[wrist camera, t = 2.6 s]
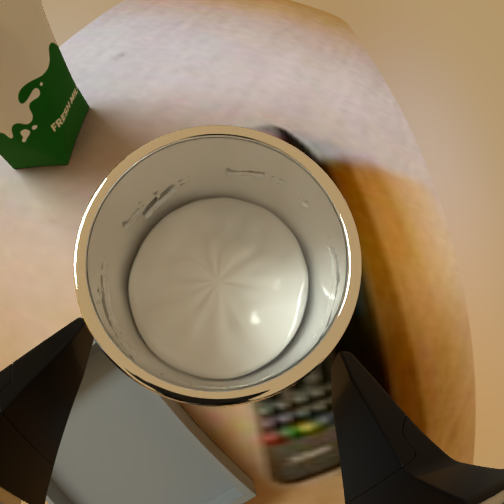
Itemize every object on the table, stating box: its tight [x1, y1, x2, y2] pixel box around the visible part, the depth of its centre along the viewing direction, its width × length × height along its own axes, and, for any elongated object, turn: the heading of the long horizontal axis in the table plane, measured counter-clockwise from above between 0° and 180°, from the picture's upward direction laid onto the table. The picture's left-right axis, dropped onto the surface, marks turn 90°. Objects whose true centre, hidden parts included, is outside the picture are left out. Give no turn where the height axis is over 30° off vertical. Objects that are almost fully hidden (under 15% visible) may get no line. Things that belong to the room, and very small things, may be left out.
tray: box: [46, 340, 257, 504], centre depth 16 cm, size 15×15×2 cm
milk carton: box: [0, 0, 89, 169], centre depth 14 cm, size 9×9×20 cm
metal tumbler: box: [73, 125, 362, 407], centre depth 13 cm, size 7×7×15 cm
